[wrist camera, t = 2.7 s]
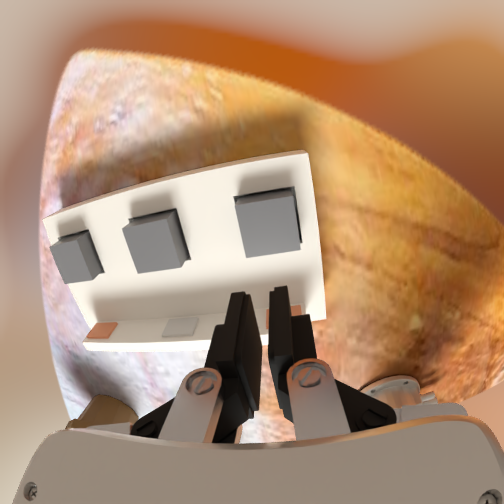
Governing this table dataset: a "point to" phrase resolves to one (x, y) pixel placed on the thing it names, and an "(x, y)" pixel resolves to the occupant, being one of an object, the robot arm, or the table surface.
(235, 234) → the button board
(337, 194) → the table surface
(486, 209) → the table surface
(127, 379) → the table surface
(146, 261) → the button middle
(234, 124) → the table surface
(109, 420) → the flowerpot
